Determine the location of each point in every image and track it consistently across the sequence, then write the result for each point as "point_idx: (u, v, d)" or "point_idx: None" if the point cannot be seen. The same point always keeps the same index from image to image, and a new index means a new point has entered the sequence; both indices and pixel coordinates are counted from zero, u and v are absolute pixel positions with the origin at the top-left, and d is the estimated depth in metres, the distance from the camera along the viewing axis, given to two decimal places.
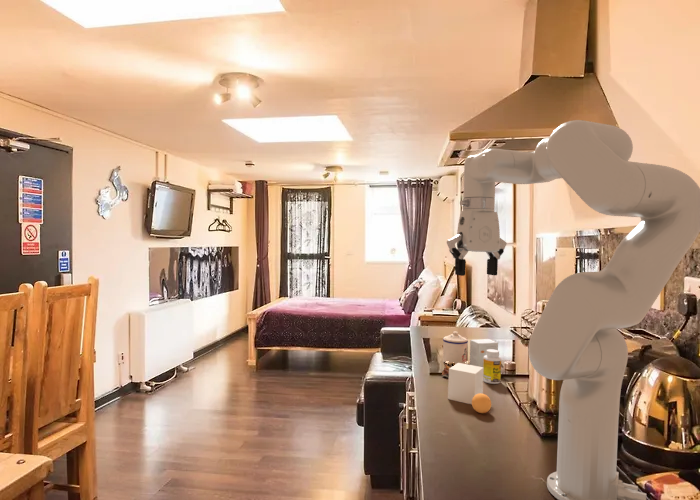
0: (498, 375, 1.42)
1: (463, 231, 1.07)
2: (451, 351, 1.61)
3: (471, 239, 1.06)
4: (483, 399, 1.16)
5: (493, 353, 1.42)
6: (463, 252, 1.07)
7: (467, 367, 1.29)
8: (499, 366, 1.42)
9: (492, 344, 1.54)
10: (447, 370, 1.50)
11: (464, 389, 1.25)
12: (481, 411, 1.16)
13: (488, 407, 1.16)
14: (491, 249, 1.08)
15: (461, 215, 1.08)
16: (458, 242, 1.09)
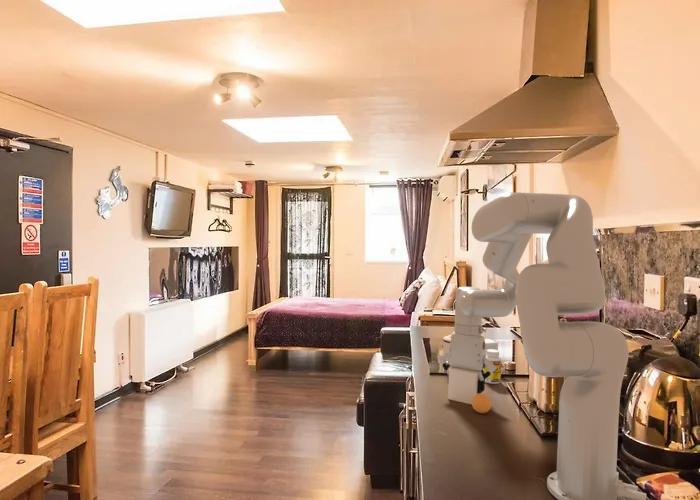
0: (498, 375, 1.42)
1: (485, 353, 1.26)
2: None
3: None
4: (483, 399, 1.16)
5: (493, 353, 1.42)
6: None
7: None
8: (499, 366, 1.42)
9: (492, 344, 1.54)
10: None
11: (464, 389, 1.25)
12: (481, 411, 1.16)
13: (488, 407, 1.16)
14: None
15: (482, 341, 1.25)
16: None
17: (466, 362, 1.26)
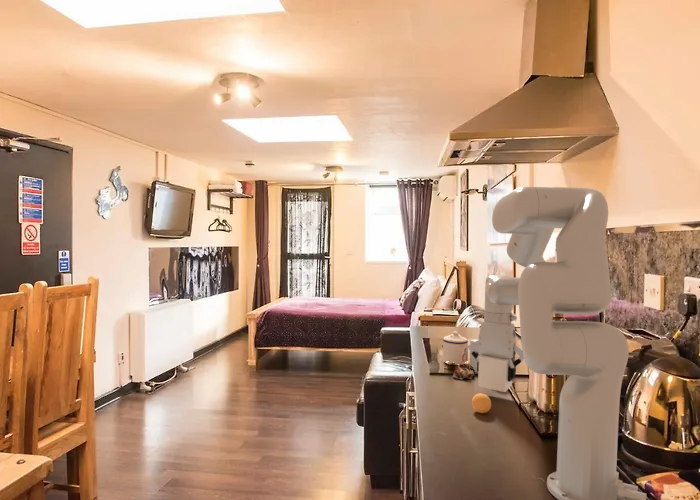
0: None
1: (515, 341, 1.27)
2: (451, 351, 1.61)
3: None
4: (483, 399, 1.16)
5: None
6: None
7: None
8: None
9: None
10: (459, 371, 1.49)
11: (495, 376, 1.26)
12: (481, 411, 1.16)
13: (488, 407, 1.16)
14: None
15: (512, 328, 1.26)
16: None
17: (496, 350, 1.27)
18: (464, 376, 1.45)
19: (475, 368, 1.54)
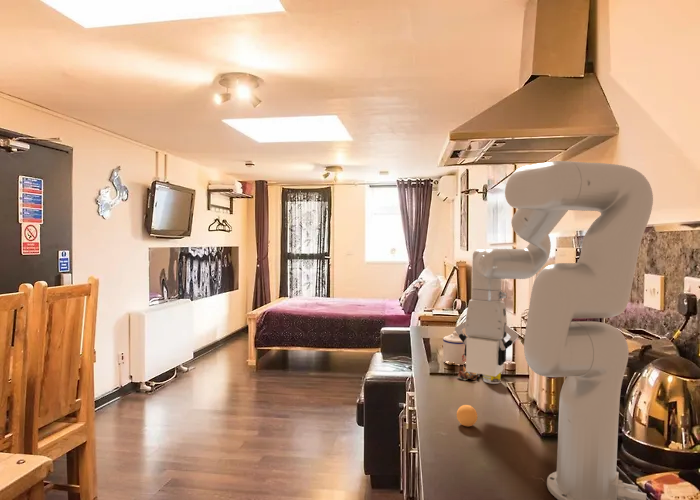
0: (498, 375, 1.42)
1: (506, 321, 1.16)
2: (451, 351, 1.61)
3: None
4: None
5: None
6: None
7: None
8: None
9: None
10: (464, 372, 1.48)
11: (484, 360, 1.14)
12: (469, 407, 1.09)
13: (476, 413, 1.08)
14: None
15: (502, 307, 1.15)
16: None
17: (485, 330, 1.16)
18: (468, 377, 1.44)
19: None
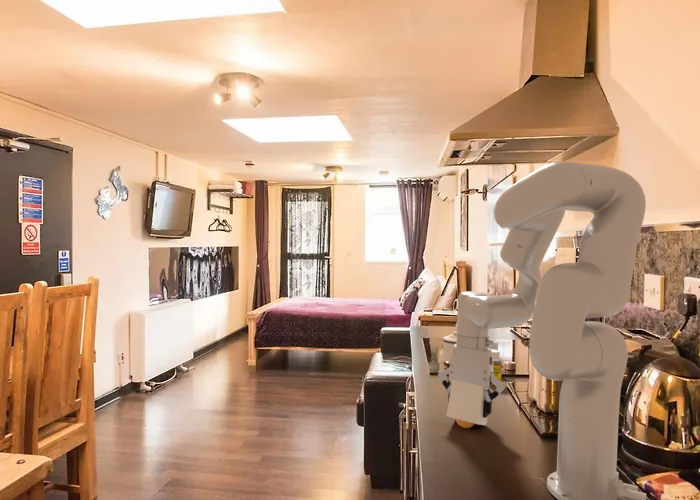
0: (498, 375, 1.42)
1: (492, 370, 1.08)
2: (451, 351, 1.61)
3: None
4: None
5: (493, 353, 1.42)
6: None
7: None
8: (499, 366, 1.42)
9: None
10: None
11: (467, 404, 1.06)
12: None
13: None
14: None
15: (489, 355, 1.07)
16: None
17: (470, 380, 1.08)
18: None
19: None
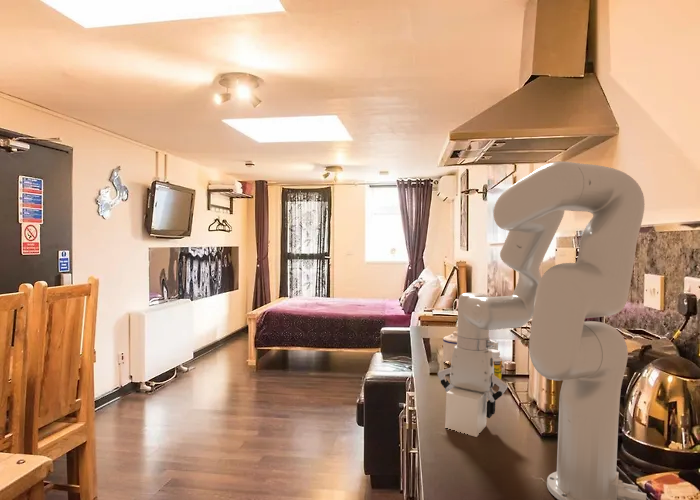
0: (499, 375, 1.42)
1: (493, 371, 1.08)
2: (451, 351, 1.61)
3: None
4: None
5: (494, 353, 1.42)
6: None
7: (468, 390, 1.09)
8: (500, 366, 1.42)
9: None
10: None
11: (464, 418, 1.05)
12: None
13: None
14: None
15: (489, 356, 1.07)
16: None
17: (470, 381, 1.08)
18: None
19: None
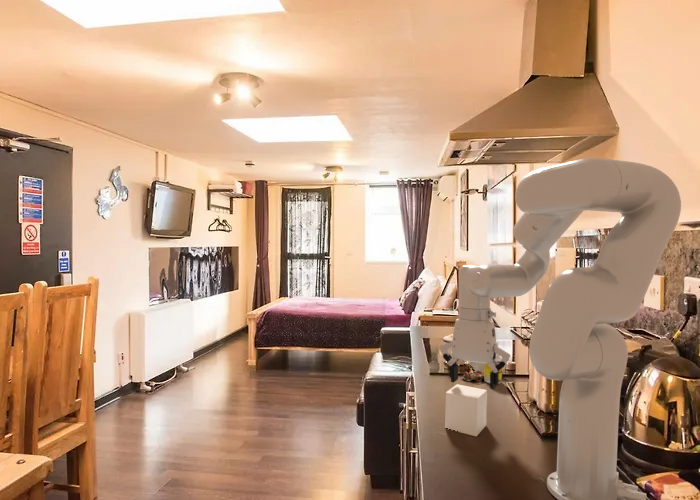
0: (499, 375, 1.42)
1: (495, 342, 1.07)
2: (451, 351, 1.61)
3: None
4: None
5: None
6: None
7: (468, 389, 1.10)
8: None
9: None
10: None
11: (464, 417, 1.05)
12: None
13: None
14: None
15: (491, 327, 1.06)
16: (492, 355, 1.06)
17: (473, 353, 1.07)
18: (472, 378, 1.43)
19: (475, 368, 1.54)
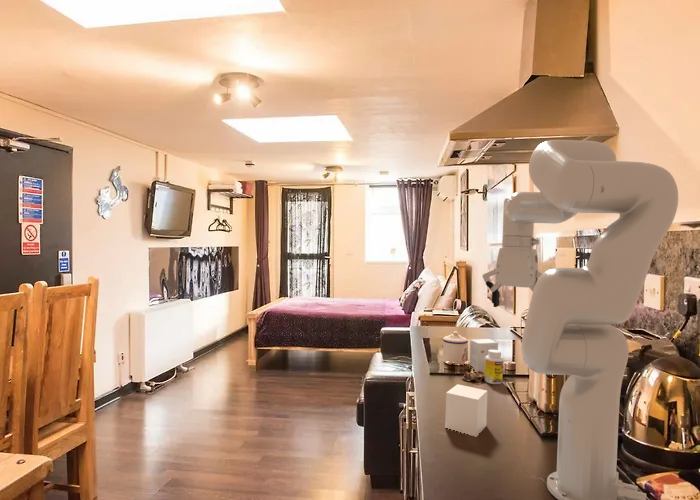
0: (500, 375, 1.41)
1: (537, 268, 1.14)
2: (451, 351, 1.61)
3: None
4: None
5: (495, 353, 1.42)
6: None
7: (468, 390, 1.09)
8: (501, 366, 1.42)
9: (492, 344, 1.54)
10: None
11: (464, 417, 1.05)
12: None
13: None
14: None
15: (534, 253, 1.12)
16: None
17: (516, 278, 1.14)
18: (471, 378, 1.43)
19: (475, 368, 1.54)
